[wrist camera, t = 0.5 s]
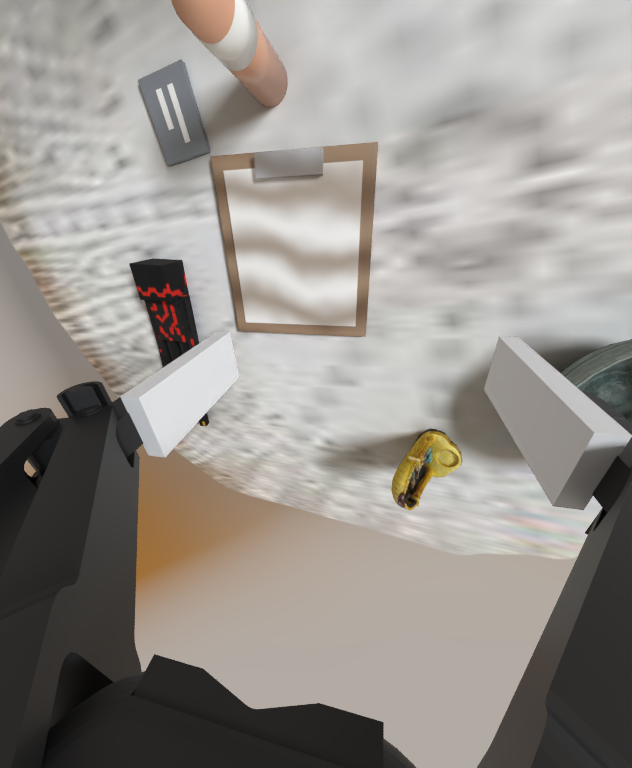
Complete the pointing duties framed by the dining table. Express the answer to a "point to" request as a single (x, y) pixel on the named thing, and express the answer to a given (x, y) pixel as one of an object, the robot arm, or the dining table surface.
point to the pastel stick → (237, 44)
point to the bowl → (606, 376)
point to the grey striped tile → (174, 113)
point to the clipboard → (299, 237)
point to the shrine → (424, 466)
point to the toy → (167, 307)
